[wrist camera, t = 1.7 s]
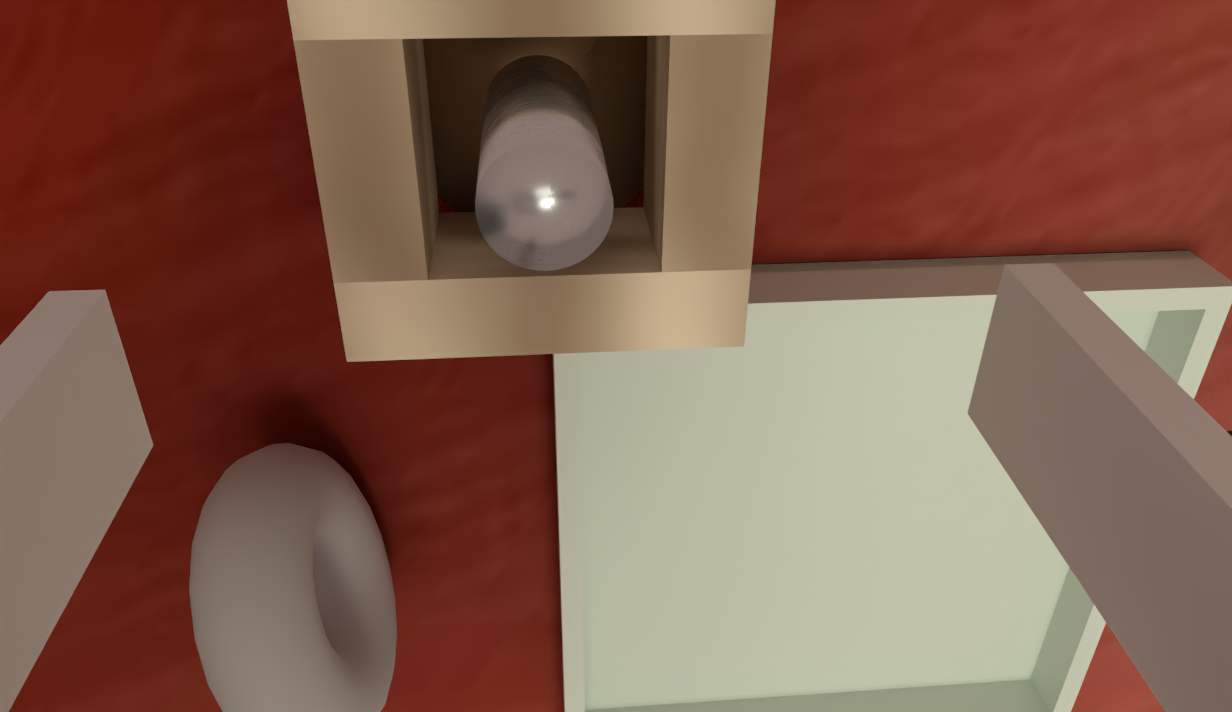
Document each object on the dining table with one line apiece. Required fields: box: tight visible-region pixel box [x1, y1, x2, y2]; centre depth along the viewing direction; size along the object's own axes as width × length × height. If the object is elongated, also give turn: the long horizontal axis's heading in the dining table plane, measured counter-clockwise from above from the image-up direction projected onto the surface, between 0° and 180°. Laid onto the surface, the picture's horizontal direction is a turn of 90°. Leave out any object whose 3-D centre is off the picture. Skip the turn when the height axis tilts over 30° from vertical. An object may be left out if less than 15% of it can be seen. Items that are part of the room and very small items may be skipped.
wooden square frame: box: [287, 0, 776, 362], centre depth 23 cm, size 10×10×4 cm
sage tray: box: [553, 250, 1232, 712], centre depth 36 cm, size 22×22×3 cm
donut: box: [189, 443, 397, 712], centre depth 31 cm, size 10×4×10 cm, turn 13°
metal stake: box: [423, 36, 647, 271], centre depth 23 cm, size 7×7×10 cm
